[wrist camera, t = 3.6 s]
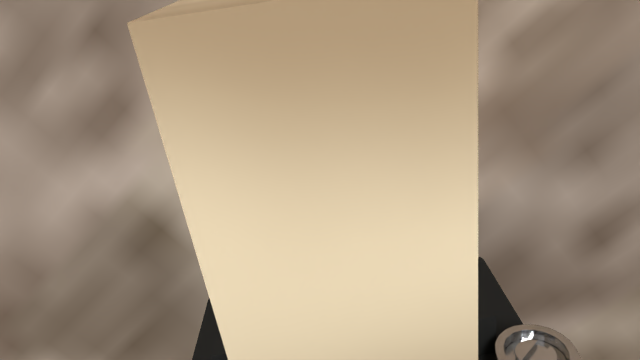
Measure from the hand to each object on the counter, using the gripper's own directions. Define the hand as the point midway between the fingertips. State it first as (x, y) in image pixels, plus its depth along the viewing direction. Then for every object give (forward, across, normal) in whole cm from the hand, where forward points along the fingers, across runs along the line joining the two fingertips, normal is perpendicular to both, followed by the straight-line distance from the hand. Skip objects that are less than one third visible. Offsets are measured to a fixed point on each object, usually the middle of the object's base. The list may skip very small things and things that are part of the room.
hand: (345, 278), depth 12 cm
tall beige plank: (0, 0, 0) cm, 1 cm away
